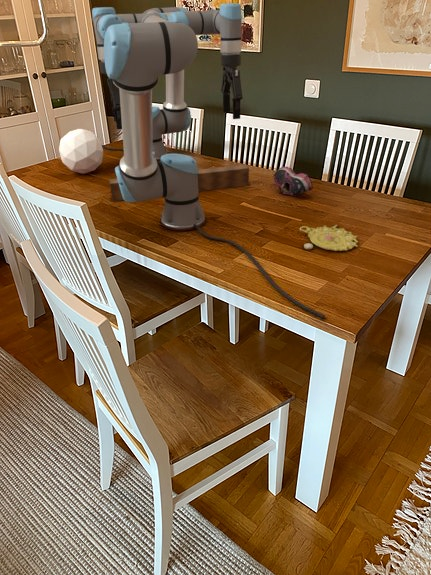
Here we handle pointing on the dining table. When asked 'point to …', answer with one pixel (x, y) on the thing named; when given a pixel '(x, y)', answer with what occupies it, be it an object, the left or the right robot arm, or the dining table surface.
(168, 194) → the right robot arm
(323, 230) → the decorative object
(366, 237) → the dining table surface
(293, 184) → the athletic shoe
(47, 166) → the dining table surface
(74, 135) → the sphere
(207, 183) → the bar
